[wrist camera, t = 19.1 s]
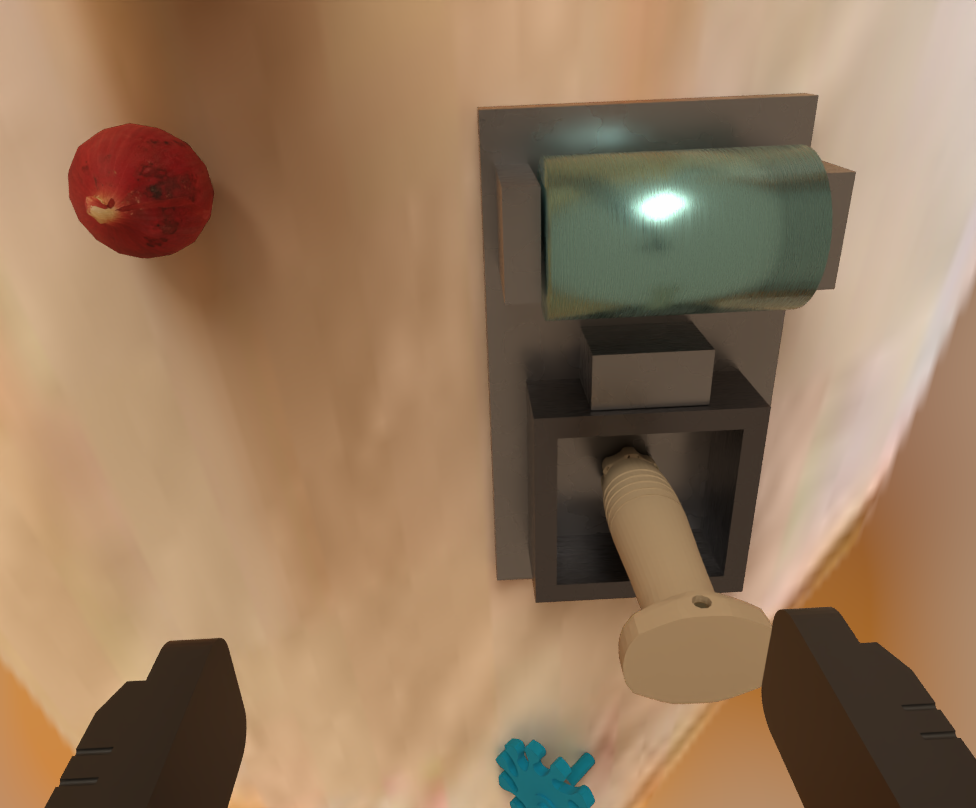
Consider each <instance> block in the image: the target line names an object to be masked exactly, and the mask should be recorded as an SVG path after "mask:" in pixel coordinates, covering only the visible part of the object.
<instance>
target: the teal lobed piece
mask: <svg viewBox="0 0 976 808" xmlns="http://www.w3.org/2000/svg"><path fill="white" fill-rule="evenodd" d="M524 753H526V755H527V758H528V761H527V759H526V758H525V755H524ZM545 755H546V750H545V748H544V747H543V746H542V745H541V744H540V743H538V742H537V741H535V740H532V741H531V742H530V743H529V744H528V745H527V746H526V747H525V745H524V743H523V742H522V741H521V740H519V739H511V740H510V741H509V742H508V743H507V744H506V745H505V750H504V751H503V752H502V753H501V754H500V755H499V756H498V757H497V758H496V761H497V763H498V764H499V766H500V767H501V768H503V769H504V771H503V772H502V773H501V774H500V775H499V785H500V786H501V787H502V788H503V789H504V790H506V791H509V792H511V793H513V794H514V795H515V796H516V797H515V798H514V799H513V800H512V801H511V802H510V806H511V808H590V807H591V806H592V805H593V804H594V802H595V799H594V796H593V794H592V792H591V790H590V789H589V787H587V786H585V785H582V786H580V787H574V786H575V785H576V784H577V783H578V782H579V780H580V779H581V778H582V777H583V776H584V775H585V774H586V773H587V771H588V770H589V769H590V768H591V767H592V766H593V765H594V764H595V760H594V758H593V757H592V756H591V755H590V754H589V753H584V754H583V756H582V757H581V758H580V759H579V760H578V761H577V762H576V763H575V764H574V765H573V766H572V767H571V768H570V766H569V765H568V764H567V763H566V761H565V760H564V759H563V758H562V757H558V758H557V759H556V760H555V762H554V763H553V764H552V765H551V766H550V769H548V768H546V767H545V766H544V765H543V764H542V763H541V759H542V758H543V757H544V756H545Z"/></svg>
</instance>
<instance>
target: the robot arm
mask: <svg viewBox="0 0 976 808" xmlns="http://www.w3.org/2000/svg"><path fill="white" fill-rule="evenodd" d="M762 704H763V709H764V714H765V718H766V721H767V724H768V727H769V730H770V732H771V734H772V737H773V739H774V741H775V743H776V745H777V748H778V750H779V752H780V754H781V757H782V759H783V761H784V763H785V765H786V767H787V770H788V772H789V774H790V776H791V779H792V781H793V783H794V785H795V787H796V790H797V792H798V794H799V797H800V799H801V801H802V803H803V805H804V808H976V759H975V758H974V756H973V755H972V753H971V752H970V750H969V749H968V748H967V746H966V745H965V744H964V742H963V741H962V739H961V738H957V737H956V734H955V730H954V728H953V727H952V725H951V724H950V723H949V721H948V720H947V718H946V717H945V716H944V714H943V713H942V711H941V710H937V709H936V706H935V702H934V700H933V699H932V698H931V696H930V695H929V693H928V692H927V691H926V689H925V688H924V686H923V685H922V684H921V682H920V681H919V679H918V678H917V677H916V675H915V674H914V672H913V671H912V670H911V669H910V668H909V667H907V666H906V665H905V664H903V663H902V662H901V661H900V660H899V659H897V658H896V657H895V656H893V655H892V654H891V653H890V652H888V651H887V650H886V649H885V648H883V647H882V646H881V645H880V644H878V643H877V642H873V643H860V642H859V641H858V639H857V638H856V637H855V635H854V633H853V632H852V630H851V629H850V628H849V626H848V624H847V623H846V621H845V620H844V619H843V617H842V616H841V614H840V613H839V612H838V611H837V610H836V609H834V608H832V607H819V608H801V609H783V610H779V611H777V613H776V614H775V616H774V620H773V625H772V631H771V636H770V641H769V647H768V652H767V658H766V663H765V669H764V674H763V680H762ZM245 742H246V713H245V708H244V704H243V701H242V697H241V693H240V689H239V686H238V682H237V678H236V674H235V671H234V667H233V663H232V659H231V656H230V652H229V648H228V645H227V643H226V641H225V640H224V639H222V638H214V639H196V640H177V641H169V642H167V643H166V644H165V645H164V646H163V647H162V649H161V651H160V653H159V655H158V657H157V659H156V661H155V663H154V665H153V667H152V669H151V671H150V673H149V675H148V677H147V679H146V681H128V682H126V683H125V684H124V685H123V686H122V687H121V688H120V689H119V690H118V691H117V692H116V693H115V694H114V695H113V696H112V697H111V698H110V699H109V700H108V701H107V702H106V703H105V704H104V705H103V706H102V707H101V708H100V709H99V710H98V711H97V712H96V713H95V715H94V717H93V719H92V721H91V722H90V724H89V726H88V728H87V730H86V732H85V734H84V735H83V737H82V739H81V741H80V743H79V745H78V747H77V748H76V755H75V756H72V758H71V760H70V761H69V763H68V765H67V767H66V769H65V771H64V773H63V774H62V776H61V778H60V785H59V787H56V788H55V789H54V791H53V793H52V795H51V797H50V799H49V800H48V802H47V804H46V806H45V808H228V804H229V801H230V798H231V794H232V791H233V788H234V784H235V781H236V778H237V774H238V771H239V768H240V764H241V761H242V757H243V753H244V748H245Z"/></svg>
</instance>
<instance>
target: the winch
mask: <svg viewBox="0 0 976 808" xmlns="http://www.w3.org/2000/svg"><path fill="white" fill-rule="evenodd" d="M817 101H818V95H813V94H807V93H797V94H774V95H751V96H728V97H705V98H682V99H658V100H635V101H612V102H589V103H566V104H543V105H520V106H496V107H478V131H479V156H480V180H481V205H482V229H483V254H484V279H485V303H486V328H487V353H488V377H489V402H490V426H491V451H492V476H493V500H494V525H495V550H496V570H497V580H513V579H532V580H533V587H534V595H535V602H536V603H539V602H557V601H576V600H595V599H613V598H632V597H636V595H635V592H634V590H633V587H632V584H631V582H630V579H629V577H628V575H627V572H626V570H625V568H624V565H623V563H622V560H621V558H620V556H619V553H618V551H617V549H616V546H615V544H614V542H613V539H612V536H611V533H610V529H609V527H608V523H607V519H606V515H605V510H604V504H603V491H602V487H601V477H602V476H603V471H602V462H603V460H604V459H605V458H606V457H610V456H613V455H615V454H617V453H618V452H620V451H621V450H622V448H624V447H634V448H635V450H636V451H637V452H638V453H640V454H642V455H648V456H650V457H651V458H652V459H653V460H654V461H655V463H656V464H657V466H658V468H659V471H660V472H661V473H662V474H663V475H664V477H665V478H666V479H667V481H668V483H669V484H670V486H671V487H672V489H673V490H674V492H675V494H676V495H677V497H678V499H679V501H680V503H681V505H682V507H683V510H684V512H685V514H686V517H687V519H688V522H689V525H690V528H691V530H692V533H693V536H694V539H695V542H696V544H697V547H698V550H699V553H700V556H701V558H702V561H703V563H704V566H705V569H706V571H707V574H708V576H709V579H710V581H711V584H712V586H713V589H714V591H715V593H724V592H742V590H743V583H744V577H745V570H746V564H747V557H748V551H749V545H750V538H751V532H752V525H753V519H754V512H755V506H756V499H757V493H758V486H759V480H760V473H761V467H762V460H763V454H764V447H765V441H766V434H767V428H768V422H769V415H770V409H771V407H770V406H771V400H772V393H773V387H774V380H775V374H776V367H777V361H778V354H779V348H780V341H781V335H782V328H783V322H784V315H785V310H790V309H797V308H800V307H802V306H803V305H805V304H806V303H807V302H808V301H809V300H810V299H811V297H812V296H813V295H814V293H815V291H816V290H824V289H834V288H835V283H836V278H837V272H838V267H839V261H840V256H841V250H842V245H843V239H844V234H845V229H846V223H847V218H848V212H849V207H850V201H851V196H852V190H853V185H854V180H855V174H856V172H855V171H852V170H849V169H846V168H843V167H840V166H837V165H834V164H831V163H828V162H825V161H822V160H821V159H820V157H819V156H818V154H817V153H816V152H815V151H814V150H813V149H812V148H811V140H812V134H813V127H814V121H815V114H816V108H817Z"/></svg>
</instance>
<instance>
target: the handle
mask: <svg viewBox="0 0 976 808" xmlns="http://www.w3.org/2000/svg"><path fill="white" fill-rule="evenodd" d="M602 471H603V476H602V477H601V487H602V491H603V504H604V510H605V515H606V519H607V523H608V527H609V529H610V533H611V536H612V539H613V542H614V544H615V546H616V549H617V551H618V553H619V556H620V558H621V560H622V563H623V565H624V568H625V570H626V572H627V575H628V577H629V579H630V582H631V584H632V587H633V590H634V592H635V595H636V597H637V600H638V602H639V605H640V608H641V611H639V612H637V613H635V614H633V615H632V616H631V618H630V619H629V620H628V621H627V622H626V624H625V625H624V627H623V629H622V632H621V634H620V639H619V659H620V663H621V667H622V671H623V675H624V679H625V682H626V684H627V685H628V687H629V688H630V690H631V691H632V692H633V693H635V694H638V695H641V696H644V697H647V698H651V699H654V700H657V701H661V702H666V703H671V704H694V703H710V702H718V701H722V700H726V699H729V698H733V697H735V696H738V695H741V694H744V693H746V692H749V691H752V690H754V689H757V688H760V687H761V686H762V680H763V674H764V669H765V663H766V658H767V652H768V647H769V641H770V636H771V631H772V625H771V623H770V621H769V619H768V618H767V616H766V615H765V614H764V612H763V611H762V610H761V609H760V608H758V607H756V606H754V605H752V604H749V603H747V602H744V601H742V600H739V599H736V598H733V597H730V596H727V595H723V594H720V593H715V591H714V589H713V586H712V584H711V581H710V579H709V576H708V574H707V571H706V569H705V566H704V563H703V561H702V558H701V556H700V553H699V550H698V547H697V544H696V542H695V539H694V536H693V533H692V530H691V528H690V525H689V522H688V519H687V517H686V514H685V512H684V510H683V507H682V505H681V503H680V501H679V499H678V497H677V495H676V494H675V492H674V490H673V489H672V487H671V486H670V484H669V483H668V481H667V479H666V478H665V477H664V475H663V474H662V473H661V472H660V471H659V468H658V466H657V464H656V463H655V461H654V460H653V459H652V458H651V457H650V456H648V455H642V454H640V453H638V452H637V451H636V450H635V448H634V447H624V448H622V450H621V451H620V452H618V453H617V454H615V455H613V456H610V457H606V458H605V459H604V460H603V462H602Z"/></svg>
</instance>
